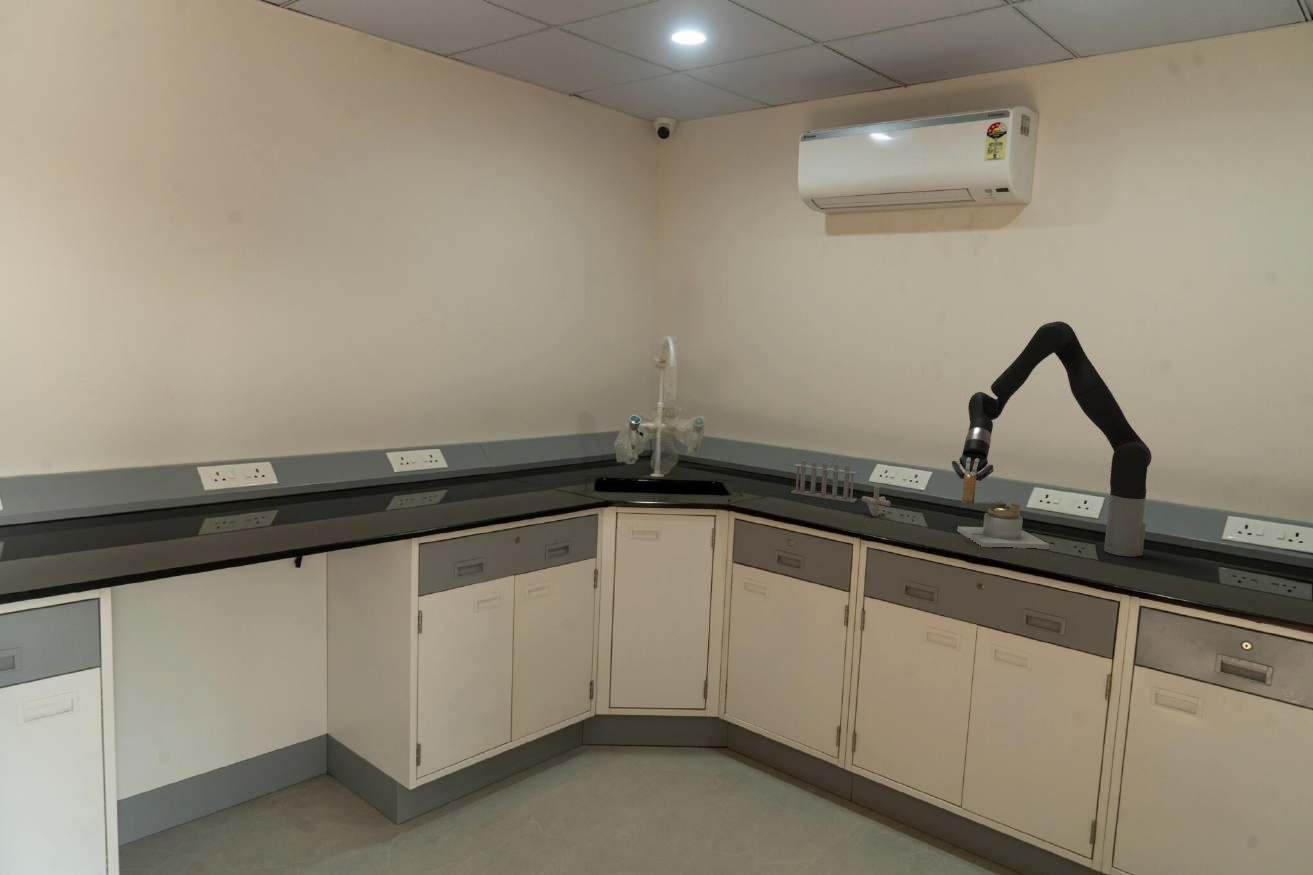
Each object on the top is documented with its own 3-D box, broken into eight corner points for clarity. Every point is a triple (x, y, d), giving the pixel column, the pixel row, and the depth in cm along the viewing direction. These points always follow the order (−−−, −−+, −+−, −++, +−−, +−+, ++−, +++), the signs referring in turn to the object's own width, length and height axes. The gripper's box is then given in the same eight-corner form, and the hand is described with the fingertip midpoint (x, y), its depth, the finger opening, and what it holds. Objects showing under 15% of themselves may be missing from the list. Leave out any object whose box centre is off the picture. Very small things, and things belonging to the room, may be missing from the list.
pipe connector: (895, 515, 293) (897, 487, 292) (881, 519, 286) (883, 490, 284) (869, 510, 300) (871, 482, 298) (854, 514, 292) (856, 486, 291)
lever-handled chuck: (1009, 512, 268) (1013, 473, 266) (1025, 518, 259) (1029, 479, 258) (954, 511, 266) (957, 473, 264) (968, 518, 257) (972, 478, 255)
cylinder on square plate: (1018, 532, 274) (1020, 510, 273) (1048, 549, 254) (1051, 524, 253) (957, 531, 274) (959, 508, 273) (982, 547, 254) (984, 522, 253)
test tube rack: (856, 501, 317) (859, 466, 315) (852, 502, 313) (854, 467, 311) (795, 491, 331) (797, 458, 329) (790, 493, 327) (792, 459, 326)
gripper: (954, 435, 272) (944, 479, 263) (998, 439, 266) (989, 484, 257) (956, 450, 278) (946, 493, 269) (999, 454, 271) (990, 498, 262)
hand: (967, 489), depth 263 cm, fingers closed
